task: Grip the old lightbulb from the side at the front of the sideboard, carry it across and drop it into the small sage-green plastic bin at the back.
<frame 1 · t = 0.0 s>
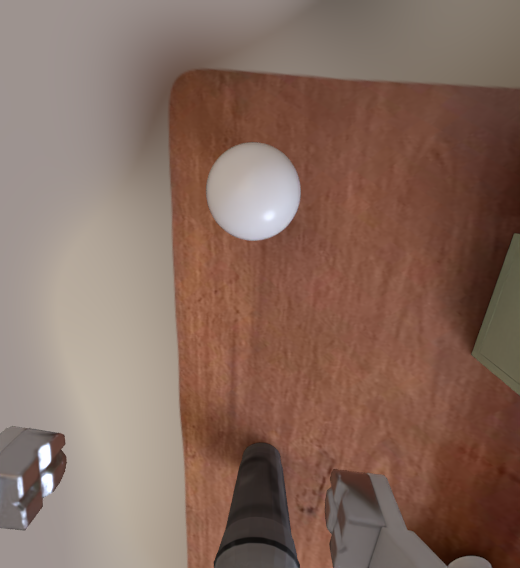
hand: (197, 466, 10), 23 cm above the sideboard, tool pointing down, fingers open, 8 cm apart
lightbulb: (258, 192, 29), on the sideboard
beverage cup: (261, 456, 38), on the sideboard
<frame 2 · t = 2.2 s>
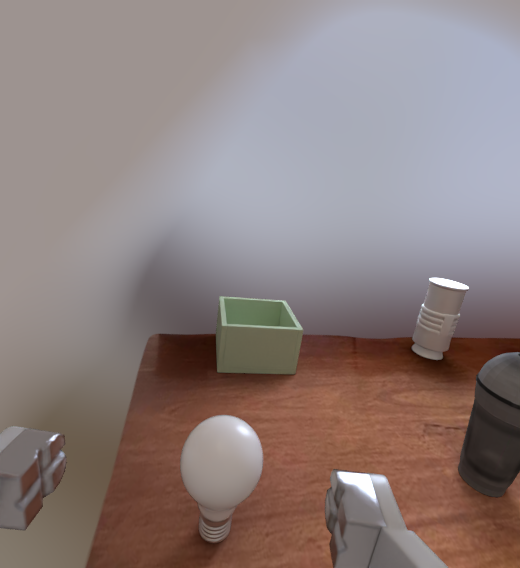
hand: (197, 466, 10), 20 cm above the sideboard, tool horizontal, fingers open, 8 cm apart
bin: (252, 353, 56), on the sideboard
white ribbed cylinder: (426, 353, 66), on the sideboard
lightbulb: (213, 533, 27), on the sideboard
beverage cup: (480, 479, 36), on the sideboard
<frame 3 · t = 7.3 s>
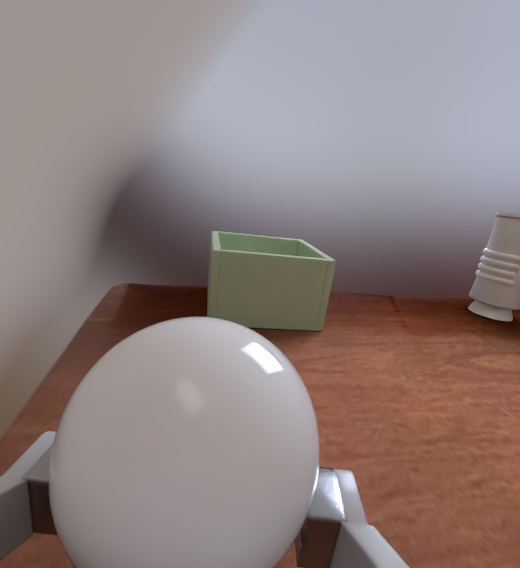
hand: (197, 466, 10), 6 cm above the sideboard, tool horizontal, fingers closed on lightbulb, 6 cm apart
bin: (258, 306, 40), on the sideboard
white ribbed cylinder: (489, 314, 49), on the sideboard
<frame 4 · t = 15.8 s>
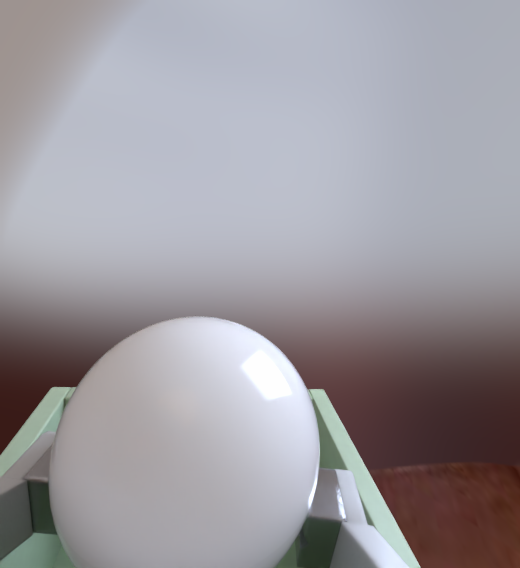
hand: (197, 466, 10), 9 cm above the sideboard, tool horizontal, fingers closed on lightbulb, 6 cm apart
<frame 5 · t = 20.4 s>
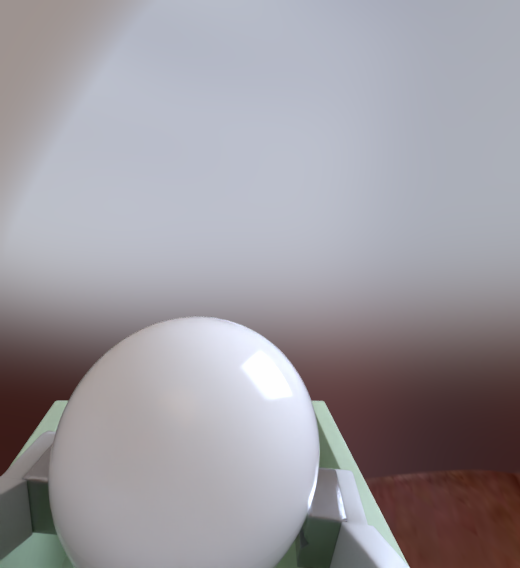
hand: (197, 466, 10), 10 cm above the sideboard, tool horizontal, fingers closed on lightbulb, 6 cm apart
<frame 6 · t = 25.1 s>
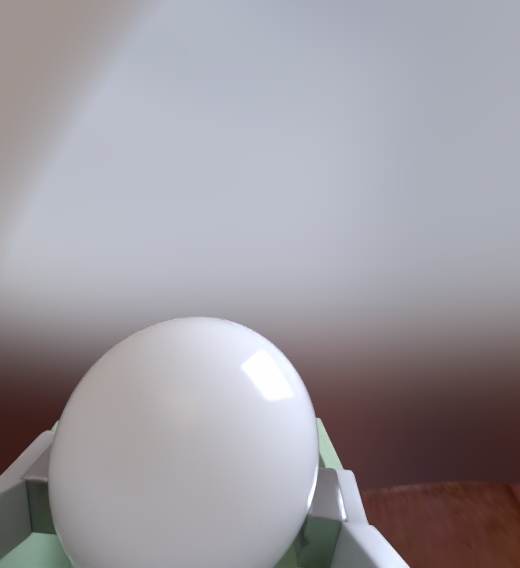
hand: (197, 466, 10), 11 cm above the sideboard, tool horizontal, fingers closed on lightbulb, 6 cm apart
when the fingers open (12 cm above the sideboard, at t = 34.0 s): lightbulb drops 4 cm, resting on bin.
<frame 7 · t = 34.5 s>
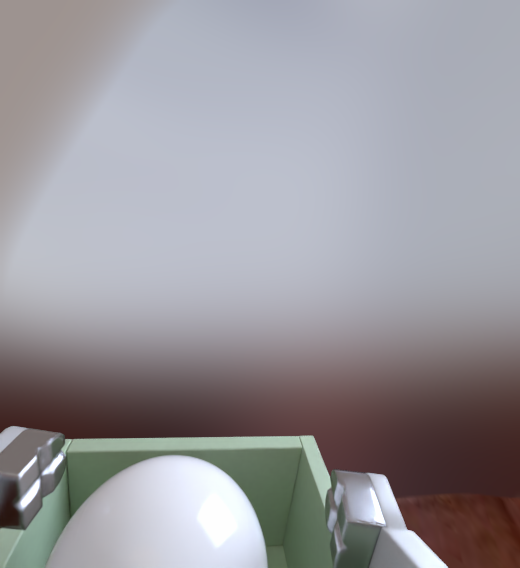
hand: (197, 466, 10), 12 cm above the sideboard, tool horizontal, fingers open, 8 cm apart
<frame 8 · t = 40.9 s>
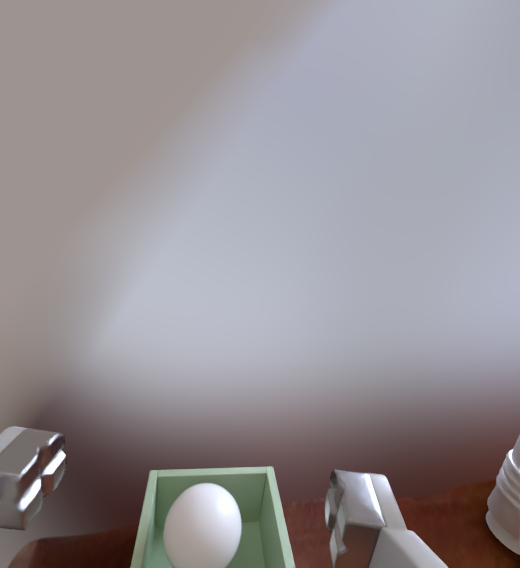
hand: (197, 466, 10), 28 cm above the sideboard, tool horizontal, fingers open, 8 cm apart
white ribbed cylinder: (514, 534, 39), on the sideboard
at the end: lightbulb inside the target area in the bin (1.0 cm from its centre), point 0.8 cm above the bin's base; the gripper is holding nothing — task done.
